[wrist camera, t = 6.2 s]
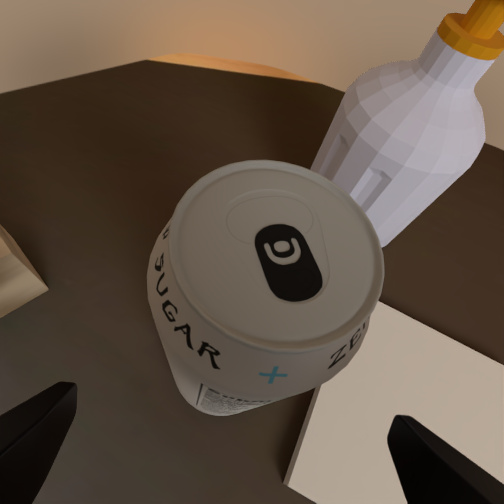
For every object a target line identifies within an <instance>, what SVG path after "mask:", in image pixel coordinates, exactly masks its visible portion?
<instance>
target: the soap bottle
mask: <svg viewBox="0 0 504 504" xmlns="http://www.w3.org/2000/svg"><path fill="white" fill-rule="evenodd" d="M503 22H504V0H475V2H474V3H473V5H472V6H471V8H470V9H469V11H468V12H467V14H459V13H450V14H447V15H446V16H445V17H444V19H443V20H442V22H441V24H440V25H439V27H437V29H436V31H435V32H434V34H433V36H432V37H431V39H430V40H429V42H428V44H427V45H426V47H425V49H424V50H423V52H422V54H421V55H420V57H419V58H417V59H415V60H411V61H397V62H391V63H387V64H384V65H381V66H378V67H375V68H371V69H369V70H368V71H367V72H365V73H364V74H362V75H361V76H359V77H358V78H357V79H356V80H355V82H353V83H352V84H351V85H350V86H349V87H348V89H347V91H346V93H345V95H344V97H343V99H342V102H341V104H340V106H339V108H338V110H337V112H336V114H335V117H334V119H333V121H332V123H331V125H330V127H329V130H328V132H327V134H326V136H325V138H324V140H323V143H322V145H321V147H320V149H319V151H318V153H317V156H316V158H315V160H314V162H313V164H312V166H311V168H310V170H311V171H313V172H316V173H318V174H320V175H322V176H323V177H325V178H327V179H329V180H330V181H332V182H334V183H335V184H336V185H338V186H339V187H340V188H341V189H343V190H344V191H345V192H346V193H348V194H349V195H350V196H351V197H352V198H353V199H354V201H355V202H356V203H357V204H358V205H359V206H360V207H361V208H362V210H363V211H364V212H365V214H366V215H367V217H368V218H369V220H370V221H371V223H372V225H373V227H374V229H375V231H376V233H377V236H378V238H379V241H380V245H381V248H382V247H384V246H386V245H387V244H388V243H389V242H390V241H391V240H392V239H393V238H395V237H396V236H397V235H398V234H399V233H400V232H401V231H402V230H403V229H404V228H405V227H406V226H407V225H408V224H410V223H411V222H412V221H413V220H414V219H415V218H416V217H417V216H418V215H419V214H420V213H421V212H422V211H423V210H425V209H426V208H427V207H428V206H429V205H430V204H431V203H432V202H433V201H434V200H435V199H436V198H437V197H438V196H440V195H441V194H442V193H443V192H444V191H445V190H446V189H447V188H448V187H449V186H450V185H451V184H452V183H453V182H455V181H456V180H457V179H458V178H459V177H460V176H461V175H462V174H463V173H464V172H465V171H466V170H467V169H468V168H470V166H471V165H472V163H473V162H474V160H475V159H476V157H477V156H478V154H479V152H480V150H481V148H482V146H483V144H484V142H485V140H486V138H485V125H484V119H483V112H482V107H481V105H480V104H479V102H478V100H477V99H476V97H475V93H474V87H475V84H476V83H477V82H478V80H479V79H480V78H481V77H482V75H483V74H484V73H485V72H486V70H487V69H488V68H489V67H490V66H491V65H492V63H493V62H494V61H495V60H496V59H497V57H498V56H499V54H500V53H501V52H502V51H503V50H504V36H503V35H502V34H501V32H500V31H498V28H499V27H500V26H501V24H502V23H503Z"/></svg>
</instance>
